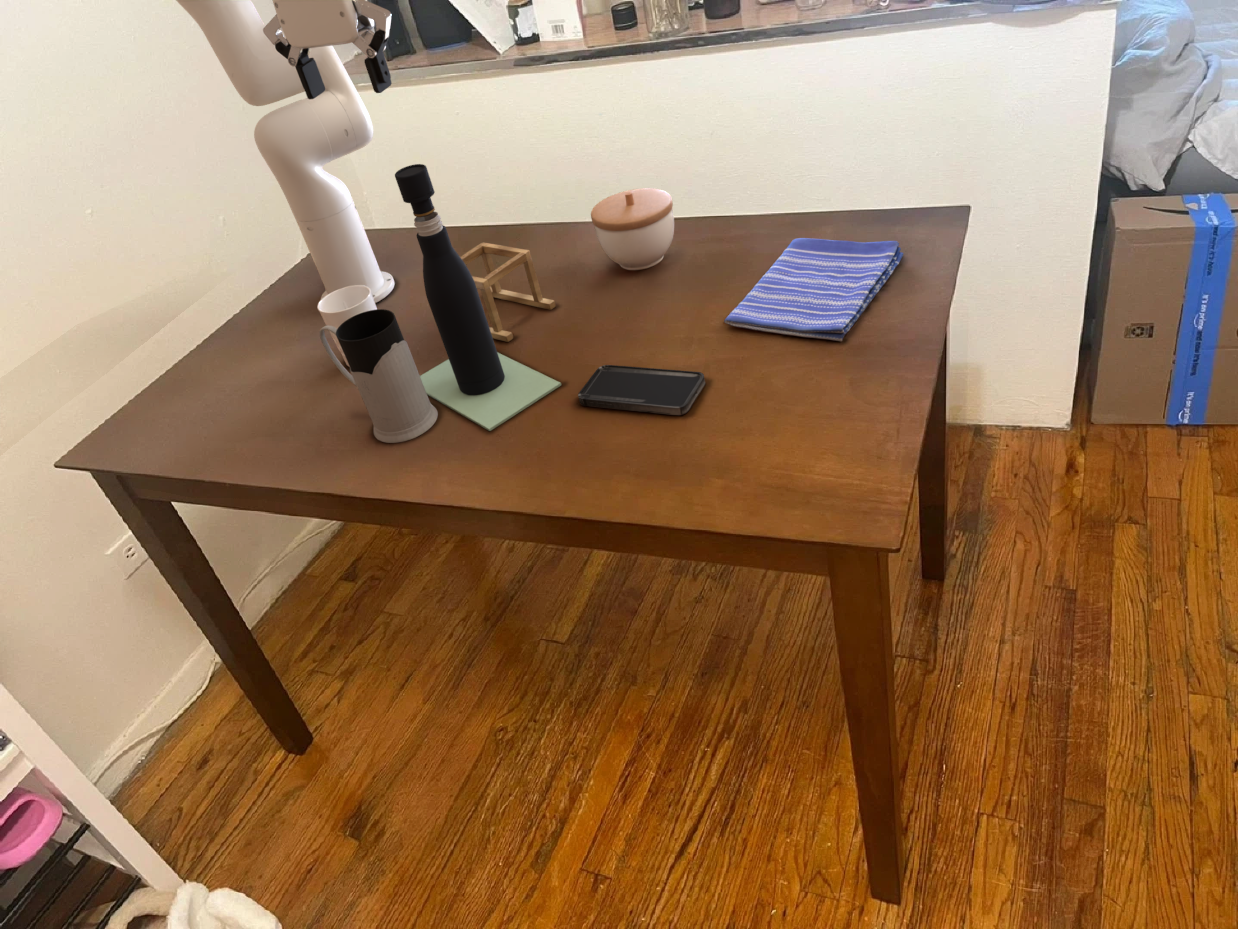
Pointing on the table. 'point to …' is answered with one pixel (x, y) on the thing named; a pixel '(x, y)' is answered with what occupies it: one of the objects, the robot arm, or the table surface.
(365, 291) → the white cup
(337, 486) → the table surface
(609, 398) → the phone
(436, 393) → the mat
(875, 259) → the dish towel
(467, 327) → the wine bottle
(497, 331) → the bottle stand
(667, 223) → the lidded bowl
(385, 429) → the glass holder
